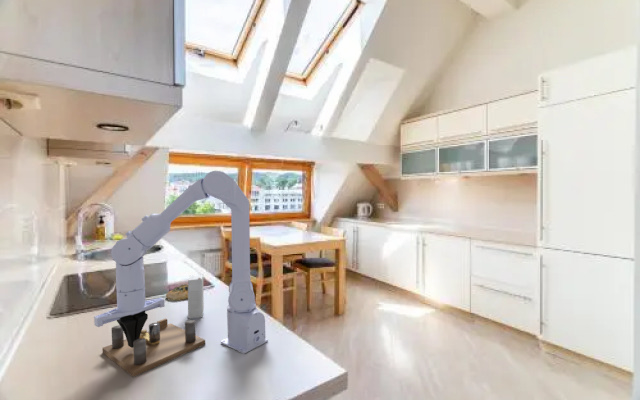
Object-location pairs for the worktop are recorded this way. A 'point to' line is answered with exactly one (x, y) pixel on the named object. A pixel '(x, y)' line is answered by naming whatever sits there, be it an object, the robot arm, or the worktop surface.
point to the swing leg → (152, 334)
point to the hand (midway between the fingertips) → (133, 345)
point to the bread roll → (178, 293)
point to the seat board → (152, 347)
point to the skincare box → (195, 296)
